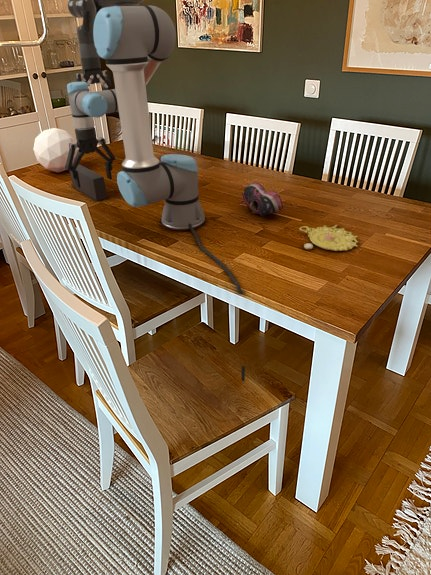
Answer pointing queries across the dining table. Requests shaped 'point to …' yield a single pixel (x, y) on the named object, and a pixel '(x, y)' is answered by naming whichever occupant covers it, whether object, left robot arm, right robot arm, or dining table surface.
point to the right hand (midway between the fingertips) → (94, 182)
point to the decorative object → (330, 238)
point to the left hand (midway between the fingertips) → (96, 99)
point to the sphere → (53, 149)
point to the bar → (90, 183)
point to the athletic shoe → (261, 200)
